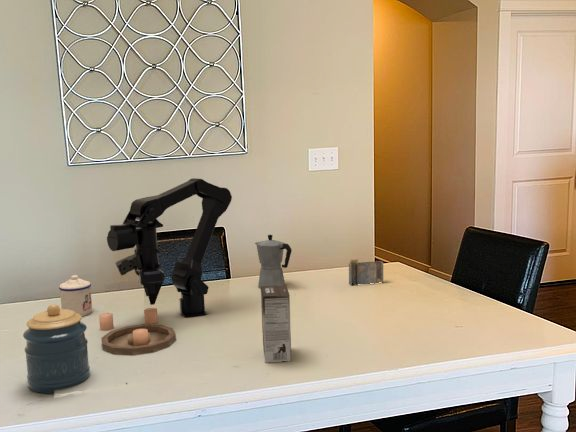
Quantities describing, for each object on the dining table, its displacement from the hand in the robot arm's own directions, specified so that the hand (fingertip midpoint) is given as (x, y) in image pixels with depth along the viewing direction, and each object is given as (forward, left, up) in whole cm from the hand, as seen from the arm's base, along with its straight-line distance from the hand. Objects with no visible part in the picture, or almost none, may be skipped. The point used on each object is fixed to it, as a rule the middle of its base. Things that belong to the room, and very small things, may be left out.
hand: (150, 300), depth 175 cm
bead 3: (0, 0, -7) cm, 7 cm away
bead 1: (+12, 0, -7) cm, 14 cm away
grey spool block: (-74, -15, -8) cm, 76 cm away
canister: (+24, +32, -7) cm, 41 cm away
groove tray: (+5, +15, -7) cm, 17 cm away
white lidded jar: (+19, -22, -7) cm, 30 cm away
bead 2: (+5, +20, -6) cm, 22 cm away
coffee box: (-25, +36, -7) cm, 44 cm away
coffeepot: (-44, -24, -7) cm, 51 cm away
